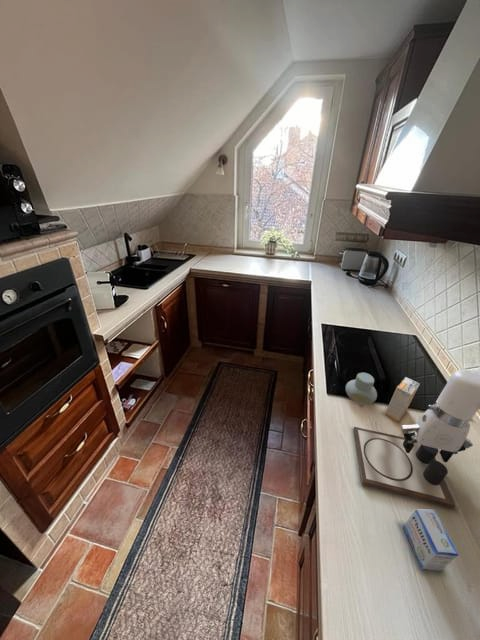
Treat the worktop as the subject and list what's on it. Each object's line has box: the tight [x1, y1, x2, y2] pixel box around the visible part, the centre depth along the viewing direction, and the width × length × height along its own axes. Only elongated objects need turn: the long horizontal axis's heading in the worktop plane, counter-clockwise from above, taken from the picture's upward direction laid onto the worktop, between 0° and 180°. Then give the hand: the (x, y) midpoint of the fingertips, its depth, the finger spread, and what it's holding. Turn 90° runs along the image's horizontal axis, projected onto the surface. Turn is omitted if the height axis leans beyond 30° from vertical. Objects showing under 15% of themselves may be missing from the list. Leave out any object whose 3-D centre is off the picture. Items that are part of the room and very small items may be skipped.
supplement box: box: [384, 376, 421, 422], centre depth 88 cm, size 8×5×13 cm, turn 131°
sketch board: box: [352, 426, 457, 509], centre depth 74 cm, size 22×18×2 cm
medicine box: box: [402, 508, 460, 571], centre depth 55 cm, size 8×4×9 cm, turn 178°
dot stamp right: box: [423, 459, 449, 485], centre depth 68 cm, size 4×4×5 cm
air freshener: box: [345, 372, 378, 405], centre depth 95 cm, size 11×8×10 cm
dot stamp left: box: [416, 445, 439, 464], centre depth 74 cm, size 4×4×5 cm
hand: (424, 453), depth 74 cm, fingers open, 9 cm apart
